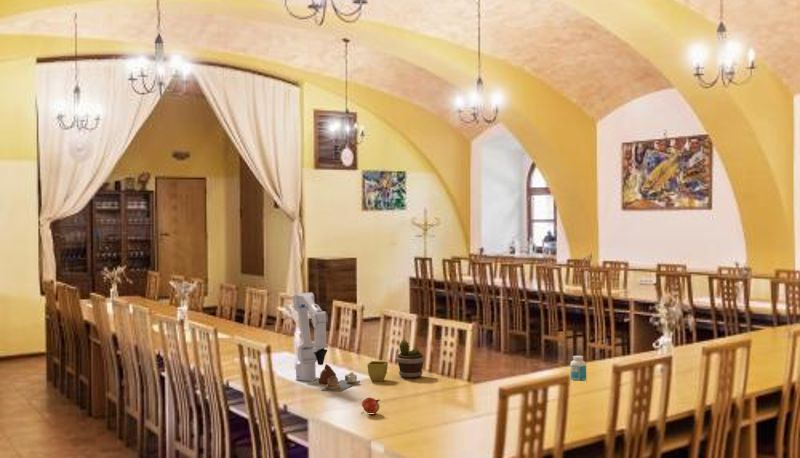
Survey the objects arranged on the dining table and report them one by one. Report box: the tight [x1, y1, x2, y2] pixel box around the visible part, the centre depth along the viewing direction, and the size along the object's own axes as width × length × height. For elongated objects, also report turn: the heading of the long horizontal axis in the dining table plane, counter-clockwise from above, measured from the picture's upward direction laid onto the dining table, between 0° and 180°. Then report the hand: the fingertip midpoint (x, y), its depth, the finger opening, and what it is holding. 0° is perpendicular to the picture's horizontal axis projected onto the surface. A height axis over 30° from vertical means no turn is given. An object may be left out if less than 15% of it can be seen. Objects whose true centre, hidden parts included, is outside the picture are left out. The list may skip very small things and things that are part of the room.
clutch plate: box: [344, 373, 358, 381], centre depth 393 cm, size 6×6×2 cm
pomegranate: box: [360, 397, 381, 416], centre depth 330 cm, size 7×7×10 cm
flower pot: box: [366, 360, 389, 382], centre depth 400 cm, size 9×9×9 cm
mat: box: [321, 379, 361, 393], centre depth 388 cm, size 10×24×1 cm, turn 161°
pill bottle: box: [569, 355, 587, 381], centre depth 385 cm, size 8×7×14 cm
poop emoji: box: [317, 363, 339, 385], centre depth 396 cm, size 10×8×9 cm
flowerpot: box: [395, 338, 426, 380], centre depth 407 cm, size 14×15×20 cm
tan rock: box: [324, 376, 340, 389], centre depth 382 cm, size 7×7×6 cm
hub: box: [347, 371, 357, 384], centre depth 393 cm, size 5×5×5 cm
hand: (320, 364), depth 388 cm, fingers closed
